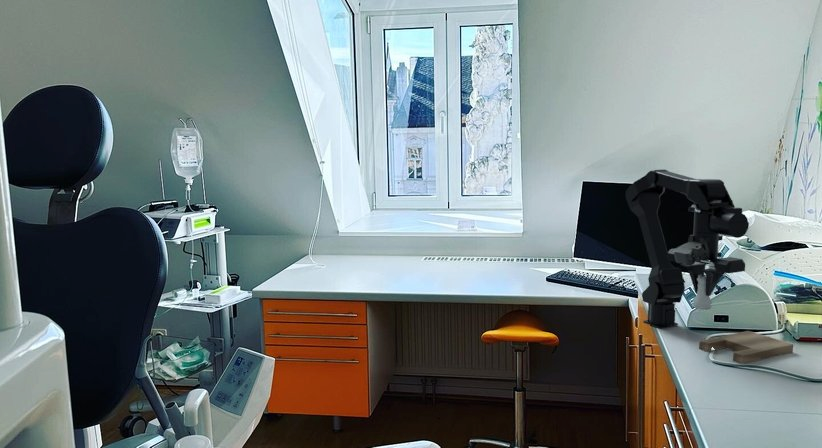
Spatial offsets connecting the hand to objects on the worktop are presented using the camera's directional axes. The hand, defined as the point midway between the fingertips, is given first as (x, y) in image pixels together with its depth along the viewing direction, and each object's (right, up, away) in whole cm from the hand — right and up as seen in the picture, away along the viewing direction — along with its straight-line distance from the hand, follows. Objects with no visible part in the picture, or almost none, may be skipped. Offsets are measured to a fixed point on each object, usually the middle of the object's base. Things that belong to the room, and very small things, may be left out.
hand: (702, 294), depth 168 cm
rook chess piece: (0, -4, +1) cm, 4 cm away
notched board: (+8, -13, -6) cm, 16 cm away
